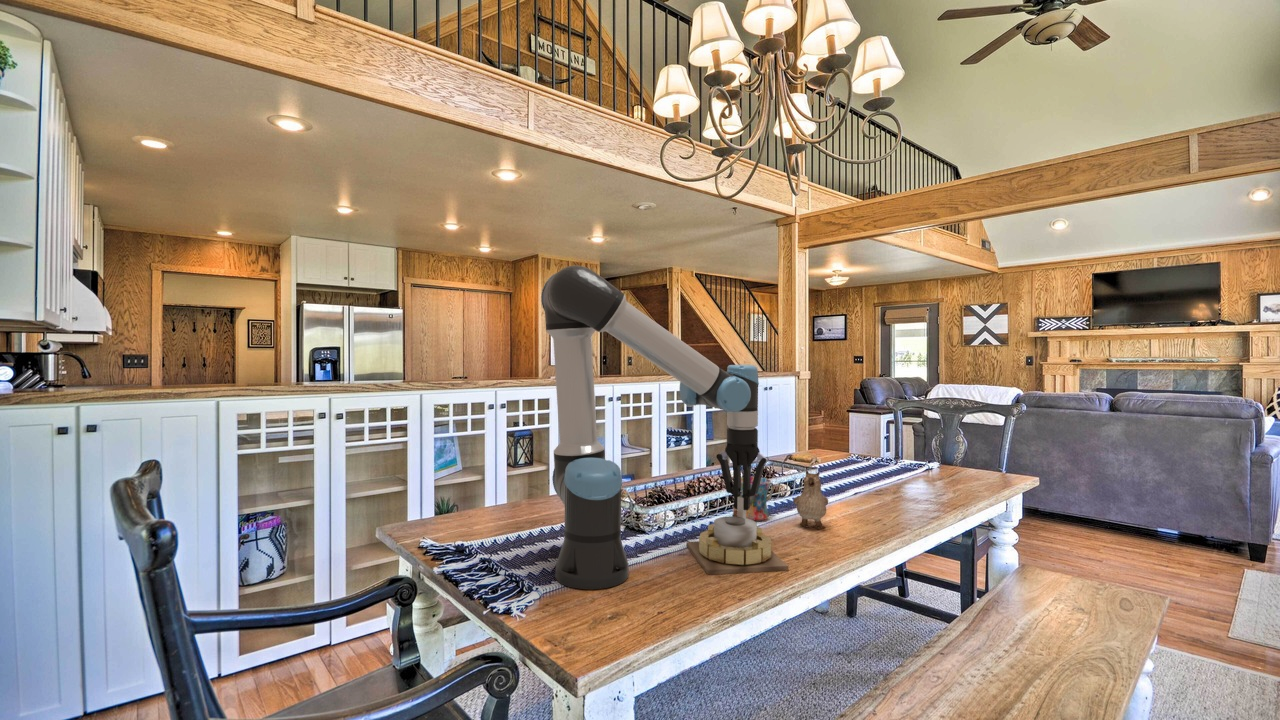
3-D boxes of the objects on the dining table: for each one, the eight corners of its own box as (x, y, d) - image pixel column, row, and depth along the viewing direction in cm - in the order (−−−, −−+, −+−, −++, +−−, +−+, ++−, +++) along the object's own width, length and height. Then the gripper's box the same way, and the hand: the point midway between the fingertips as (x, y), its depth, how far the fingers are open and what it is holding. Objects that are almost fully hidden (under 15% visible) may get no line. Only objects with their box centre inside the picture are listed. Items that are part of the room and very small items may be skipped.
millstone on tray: (772, 566, 127) (773, 538, 126) (697, 561, 129) (697, 533, 129) (767, 532, 150) (767, 508, 150) (703, 528, 152) (703, 504, 152)
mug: (753, 524, 161) (753, 485, 161) (730, 516, 169) (730, 478, 169) (784, 518, 168) (785, 480, 167) (761, 510, 175) (762, 474, 175)
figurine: (791, 529, 157) (793, 473, 157) (793, 519, 166) (794, 466, 166) (828, 533, 154) (829, 475, 154) (827, 522, 164) (828, 468, 163)
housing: (707, 574, 125) (708, 533, 125) (685, 545, 144) (686, 508, 144) (788, 570, 129) (789, 529, 128) (756, 541, 147) (757, 506, 147)
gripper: (772, 427, 148) (771, 522, 148) (722, 423, 154) (722, 514, 154) (763, 431, 141) (762, 530, 142) (712, 427, 147) (711, 522, 148)
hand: (741, 522), depth 148 cm, fingers closed
